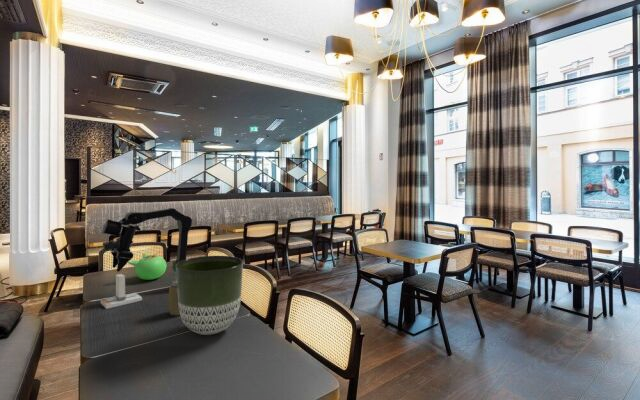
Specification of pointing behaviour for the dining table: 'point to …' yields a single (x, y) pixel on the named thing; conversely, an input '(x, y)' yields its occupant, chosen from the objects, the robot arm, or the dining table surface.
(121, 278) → the handle
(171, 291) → the squeeze bottle
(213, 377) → the dining table surface
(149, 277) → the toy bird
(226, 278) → the planter
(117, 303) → the fader deck
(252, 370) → the dining table surface
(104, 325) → the dining table surface
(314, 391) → the dining table surface
